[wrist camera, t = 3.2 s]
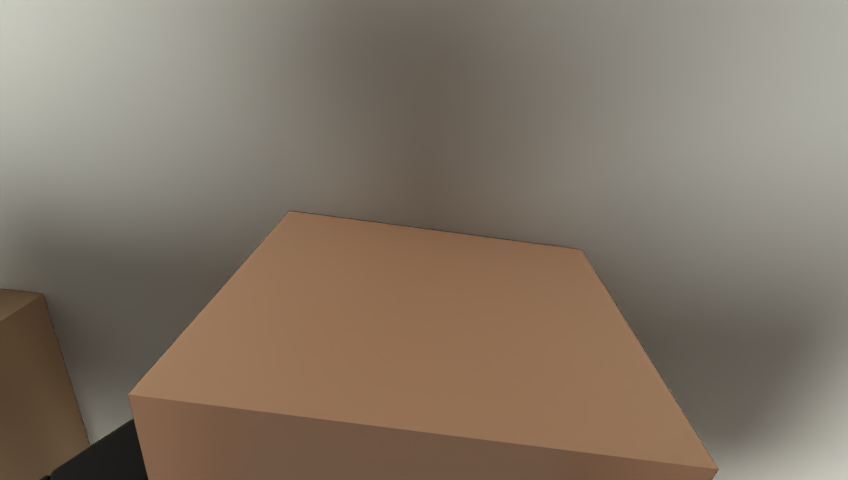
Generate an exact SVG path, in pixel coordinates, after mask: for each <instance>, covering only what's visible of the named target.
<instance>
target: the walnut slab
mask: <svg viewBox="0 0 848 480" xmlns="http://www.w3.org/2000/svg"><path fill="white" fill-rule="evenodd" d="M88 447H90V443H89V440H88V437H87V434H86V430H85V427H84V424H83V421H82V417H81V414H80V411H79V408H78V405H77V401H76V398H75V395H74V392H73V389H72V385H71V382H70V379H69V376H68V373H67V369H66V366H65V363H64V360H63V356H62V353H61V350H60V347H59V344H58V340H57V337H56V334H55V331H54V328H53V324H52V321H51V318H50V315H49V312H48V308H47V305H46V302H45V299H44V295H43V294H39V293H32V292H24V291H17V290H9V289H1V288H0V480H39V479H40V478H42V477H43V476H45V475H49V476H50V475H51V472H52V471H53V470H54V469H56V468H57V467H59V466H61V465H62V464H64V463H65V462H67V461H68V460H70V459H71V458H73V457H74V456H76V455H78V454H79V453H81V452H82V451H84V450H85V449H87V448H88Z"/></svg>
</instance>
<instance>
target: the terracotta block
mask: <svg viewBox="0 0 848 480" xmlns="http://www.w3.org/2000/svg"><path fill="white" fill-rule="evenodd" d="M128 397H129V402H130V406H131V410H132V414H133V418H134V422H135V426H136V430H137V435H138V439H139V443H140V447H141V451H142V455H143V459H144V464H145V468H146V472H147V476H148V480H712V479H713V478H714V476H715V474H716V473H717V471H718V470H719V469H718V467H717V466H716V464H715V463H714V461H713V459H712V458H711V456H710V455H709V453H708V451H707V450H706V448H705V447H704V445H703V443H702V442H701V440H700V439H699V437H698V435H697V434H696V432H695V431H694V429H693V427H692V426H691V424H690V423H689V421H688V419H687V418H686V416H685V415H684V413H683V411H682V410H681V408H680V407H679V405H678V403H677V402H676V400H675V399H674V397H673V395H672V394H671V392H670V391H669V389H668V387H667V386H666V384H665V383H664V381H663V379H662V378H661V376H660V375H659V373H658V371H657V370H656V368H655V367H654V365H653V363H652V362H651V360H650V359H649V357H648V355H647V354H646V352H645V351H644V349H643V347H642V346H641V344H640V343H639V341H638V339H637V338H636V336H635V335H634V333H633V331H632V330H631V328H630V327H629V325H628V323H627V322H626V320H625V319H624V317H623V315H622V314H621V312H620V311H619V309H618V307H617V306H616V304H615V303H614V301H613V299H612V298H611V296H610V295H609V293H608V291H607V290H606V288H605V287H604V285H603V283H602V282H601V280H600V279H599V277H598V275H597V274H596V272H595V271H594V269H593V267H592V266H591V264H590V263H589V261H588V259H587V258H586V256H585V255H584V253H583V251H582V250H580V249H572V248H565V247H557V246H549V245H542V244H534V243H527V242H519V241H512V240H504V239H497V238H489V237H482V236H474V235H466V234H459V233H451V232H444V231H436V230H429V229H421V228H414V227H406V226H399V225H391V224H383V223H376V222H368V221H361V220H353V219H346V218H338V217H331V216H323V215H316V214H308V213H300V212H293V211H289V212H288V213H287V214H286V215H285V217H284V218H283V219H282V220H281V221H280V222H279V223H278V225H277V226H276V227H275V228H274V229H273V230H272V231H271V232H270V234H269V235H268V236H267V237H266V238H265V239H264V240H263V242H262V243H261V244H260V245H259V246H258V247H257V248H256V250H255V251H254V252H253V253H252V254H251V255H250V256H249V257H248V259H247V260H246V261H245V262H244V263H243V264H242V265H241V267H240V268H239V269H238V270H237V271H236V272H235V273H234V274H233V276H232V277H231V278H230V279H229V280H228V281H227V282H226V284H225V285H224V286H223V287H222V288H221V289H220V290H219V292H218V293H217V294H216V295H215V296H214V297H213V298H212V299H211V301H210V302H209V303H208V304H207V305H206V306H205V307H204V309H203V310H202V311H201V312H200V313H199V314H198V315H197V317H196V318H195V319H194V320H193V321H192V322H191V323H190V324H189V326H188V327H187V328H186V329H185V330H184V331H183V332H182V334H181V335H180V336H179V337H178V338H177V339H176V340H175V341H174V343H173V344H172V345H171V346H170V347H169V348H168V349H167V351H166V352H165V353H164V354H163V355H162V356H161V357H160V359H159V360H158V361H157V362H156V363H155V364H154V365H153V366H152V368H151V369H150V370H149V371H148V372H147V373H146V374H145V376H144V377H143V378H142V379H141V380H140V381H139V382H138V383H137V385H136V386H135V387H134V388H133V389H132V390H131V391H130V393H129V394H128Z"/></svg>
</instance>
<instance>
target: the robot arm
mask: <svg viewBox="0 0 848 480" xmlns="http://www.w3.org/2000/svg"><path fill="white" fill-rule="evenodd" d="M39 480H148V476H147V472H146V468H145V464H144V459H143V455H142V451H141V447H140V443H139V439H138V435H137V430H136V426H135V422H134V418H133V419H131V420H130V421H128V422H127V423H125V424H124V425H122V426H121V427H119V428H118V429H116V430H115V431H113V432H111V433H110V434H108V435H107V436H105V437H104V438H102V439H101V440H99V441H98V442H96V443H94V444H93V445H91V446H90V447H88V448H87V449H85V450H84V451H82V452H81V453H79V454H78V455H76V456H74V457H73V458H71V459H70V460H68V461H67V462H65V463H64V464H62V465H61V466H59V467H57V468H56V469H54V470H53V471H52V472H51V475H50V476H49V475H45V476H43V477H42V478H40V479H39Z"/></svg>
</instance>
